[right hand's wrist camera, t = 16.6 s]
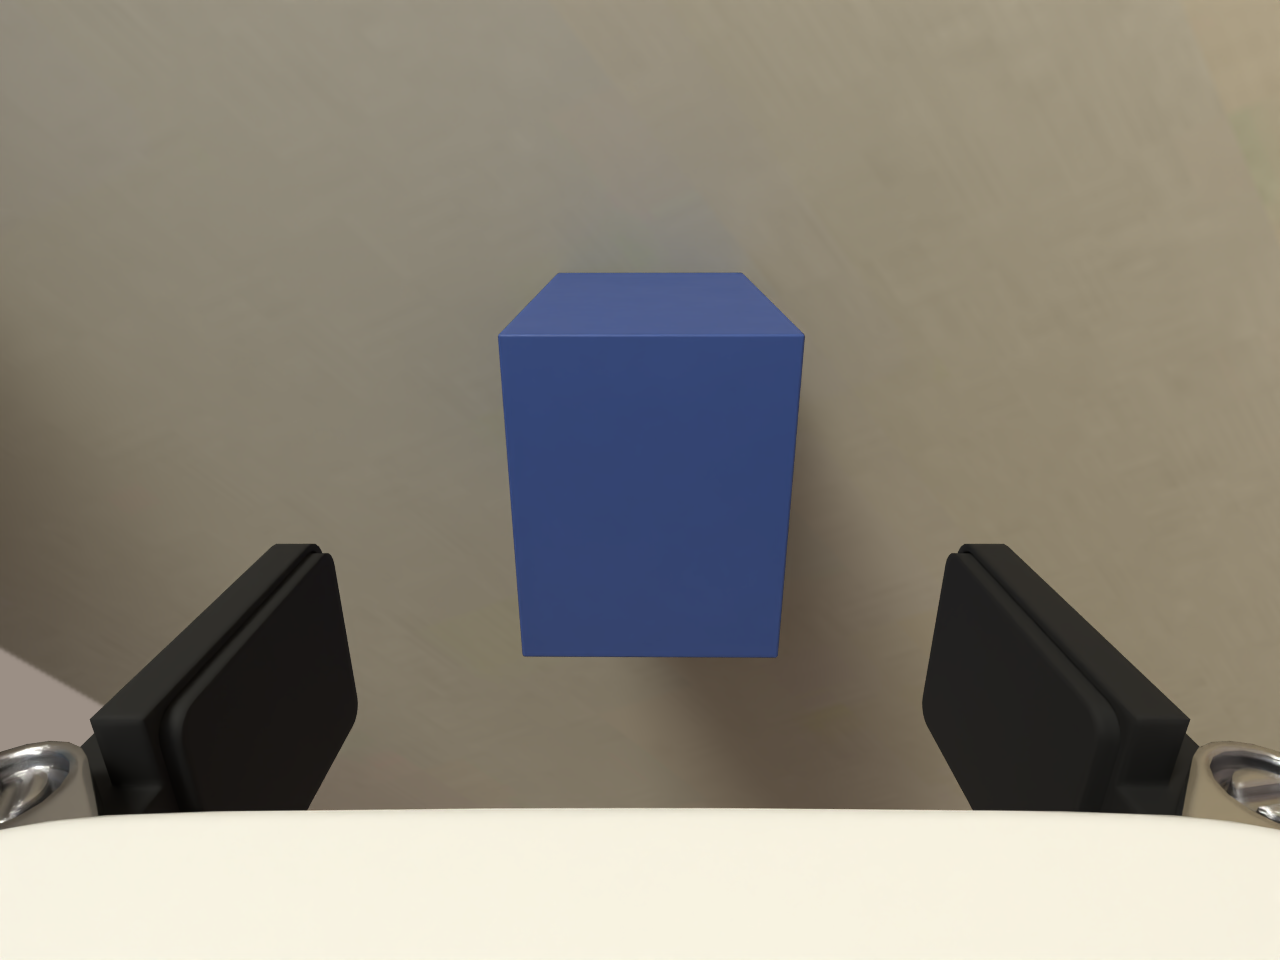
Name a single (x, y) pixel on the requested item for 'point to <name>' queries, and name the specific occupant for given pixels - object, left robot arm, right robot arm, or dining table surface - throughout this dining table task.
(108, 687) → the dining table surface
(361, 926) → the right robot arm
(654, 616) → the brick
